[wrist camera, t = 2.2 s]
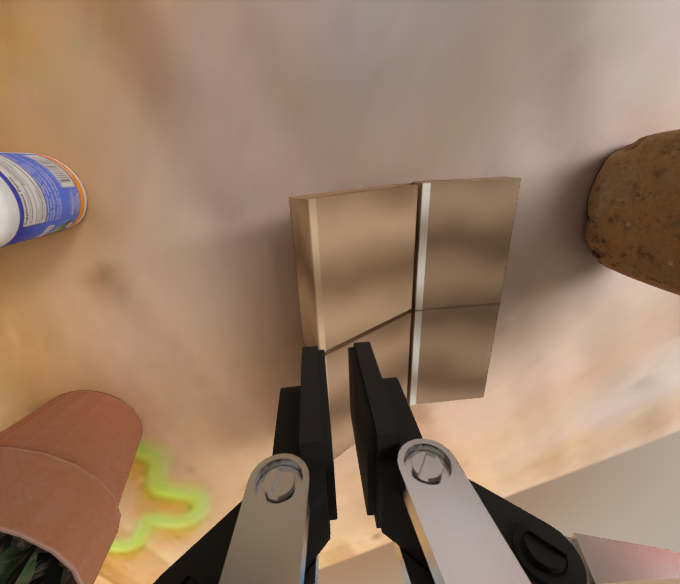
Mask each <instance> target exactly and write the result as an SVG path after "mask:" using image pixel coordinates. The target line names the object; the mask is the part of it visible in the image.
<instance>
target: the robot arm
mask: <svg viewBox="0 0 680 584" xmlns="http://www.w3.org/2000/svg"><path fill="white" fill-rule="evenodd" d="M348 364H349V392H350V413H351V421H352V427H353V433H354V439H355V445H356V451H357V457H358V463H359V469H360V475H361V481H362V487H363V493H364V499H365V505H366V511H367V515H374V516H375V521H376V526H377V528H381V530H382V533H384V534H385V535H386V536H387V537H389V538H390V539H391V540H392V541H394V545H395V550H396V553H397V557H398V560H399V563H400V567H401V570H402V573H403V576H404V580H405V583H406V584H680V553H677V552H674V551H670V550H667V549H661V548H656V547H650V546H644V545H639V544H633V543H628V542H622V541H616V540H611V539H605V538H600V537H594V536H588V535H582V534H576V533H574V534H573V536H572V538H571V537H566V536H563V535H562V533H560V532H559V531H558V530H556V529H555V528H553V527H552V526H550V525H549V524H547V523H545V522H544V521H542V520H540V519H538V518H536V517H535V516H533V515H531V514H530V513H528V512H526V511H524V510H522V509H521V508H519V507H517V506H515V505H514V504H512V503H510V502H508V501H507V500H505V499H503V498H501V497H500V496H498V495H496V494H494V493H493V492H491V491H489V490H487V489H486V488H484V487H482V486H480V485H478V484H477V483H475V482H473V481H471V480H470V479H468V478H467V476H466V475H465V473H464V471H463V470H462V468H461V466H460V465H459V463H458V461H457V460H456V458H455V457H454V455H453V454H452V453H451V452H450V450H449V449H447V448H446V447H445V446H443V445H442V444H440V443H438V442H436V441H433V440H429V439H423V438H422V436H421V433H420V431H419V428H418V426H417V424H416V421H415V419H414V416H413V414H412V411H411V409H410V407H409V404H408V402H407V399H406V397H405V394H404V392H403V390H402V387H401V385H400V382H399V380H398V378H396V377H393V378H382V376H381V373H380V370H379V367H378V364H377V362H376V359H375V356H374V353H373V350H372V347H371V344H370V342H369V341H368V342H356V343H354V345H353V347H348ZM336 519H337V506H336V491H335V477H334V462H333V447H332V434H331V422H330V410H329V398H328V387H327V375H326V363H325V351H324V349H323V350H318V346H309V347H302V367H301V386H297V387H286V388H281V390H280V397H279V405H278V414H277V422H276V430H275V438H274V446H273V454H272V456H271V457H268V458H266V459H265V460H263V461H262V462H261V463H259V464H258V465H257V466H256V468H255V469H254V470H253V471H252V473H251V475H250V478H249V480H248V483H247V487H246V490H245V494H244V497H243V500H242V501H241V502H240V503H239V504H238V505H237V506H236V507H235V508H234V509H233V510H231V511H230V512H229V513H228V514H227V515H226V516H225V517H224V518H223V519H222V520H221V521H220V522H218V523H217V524H216V525H215V526H214V527H213V528H212V529H211V530H210V531H209V532H208V533H206V534H205V535H204V536H203V537H202V538H201V539H200V540H199V541H198V542H197V543H196V544H194V545H193V546H192V547H191V548H190V549H189V550H188V551H187V552H186V553H185V554H184V555H183V556H181V557H180V558H179V559H178V560H177V561H176V562H175V563H174V564H173V565H172V566H171V567H169V568H168V569H167V570H166V571H165V572H164V573H163V574H162V575H161V576H160V577H159V578H158V579H157V580H156V581H155V582H154V583H153V584H317V579H318V562H319V560H318V554H319V553H320V551H321V550H322V549H323V547H324V546H325V545H326V544H327V542H328V541H329V540H330V520H336Z"/></svg>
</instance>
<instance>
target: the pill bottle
mask: <svg viewBox="0 0 680 584" xmlns="http://www.w3.org/2000/svg"><path fill="white" fill-rule="evenodd" d="M86 208H87V196H86V192H85V189H84V187H83V184H82V183H81V181H80V179H79V178H78V177H77V175H76V174H75V173H74V172H73V171H72V170H71V169H70V168H69V167H67V166H66V165H65V164H63V163H61V162H60V161H58V160H56V159H54V158H52V157H49V156H46V155H42V154H36V153H15V152H0V247H4V246H7V245H11V244H14V243H18V242H22V241H25V240H29V239H33V238H37V237H40V236H44V235H47V234H51V233H55V232H59V231H62V230H65V229H68V228H71V227H73V226H75V225H76V224H77V223H78V222H80V221H81V219H82V218H83V216H84V215H85V212H86Z"/></svg>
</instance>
